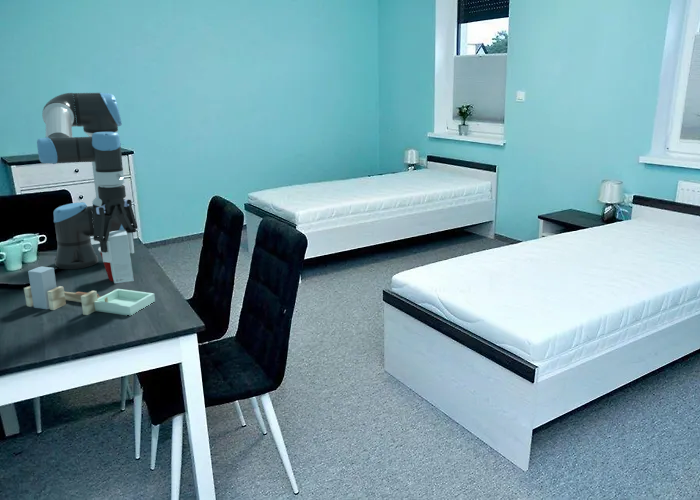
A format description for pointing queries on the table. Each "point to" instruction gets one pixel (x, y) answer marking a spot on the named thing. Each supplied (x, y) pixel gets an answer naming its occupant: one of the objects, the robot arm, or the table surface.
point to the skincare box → (120, 257)
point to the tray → (124, 302)
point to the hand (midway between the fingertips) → (119, 257)
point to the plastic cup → (107, 267)
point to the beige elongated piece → (67, 298)
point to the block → (41, 285)
